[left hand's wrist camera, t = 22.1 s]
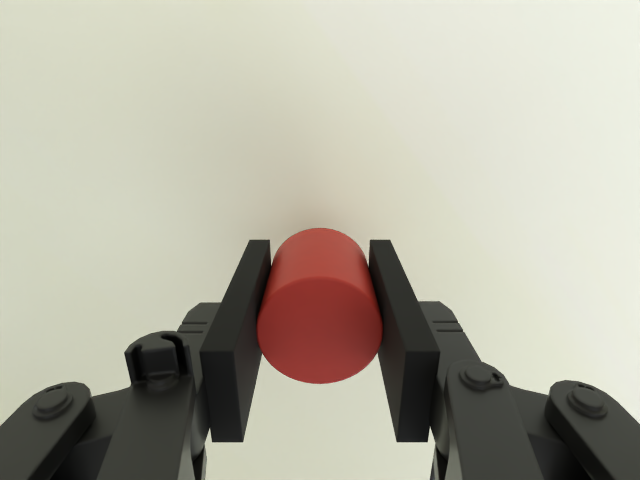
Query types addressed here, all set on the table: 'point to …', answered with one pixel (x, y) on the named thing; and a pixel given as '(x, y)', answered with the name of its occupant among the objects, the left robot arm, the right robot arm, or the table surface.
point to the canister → (319, 309)
